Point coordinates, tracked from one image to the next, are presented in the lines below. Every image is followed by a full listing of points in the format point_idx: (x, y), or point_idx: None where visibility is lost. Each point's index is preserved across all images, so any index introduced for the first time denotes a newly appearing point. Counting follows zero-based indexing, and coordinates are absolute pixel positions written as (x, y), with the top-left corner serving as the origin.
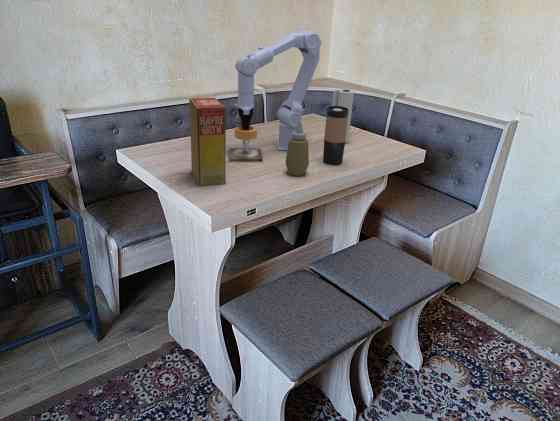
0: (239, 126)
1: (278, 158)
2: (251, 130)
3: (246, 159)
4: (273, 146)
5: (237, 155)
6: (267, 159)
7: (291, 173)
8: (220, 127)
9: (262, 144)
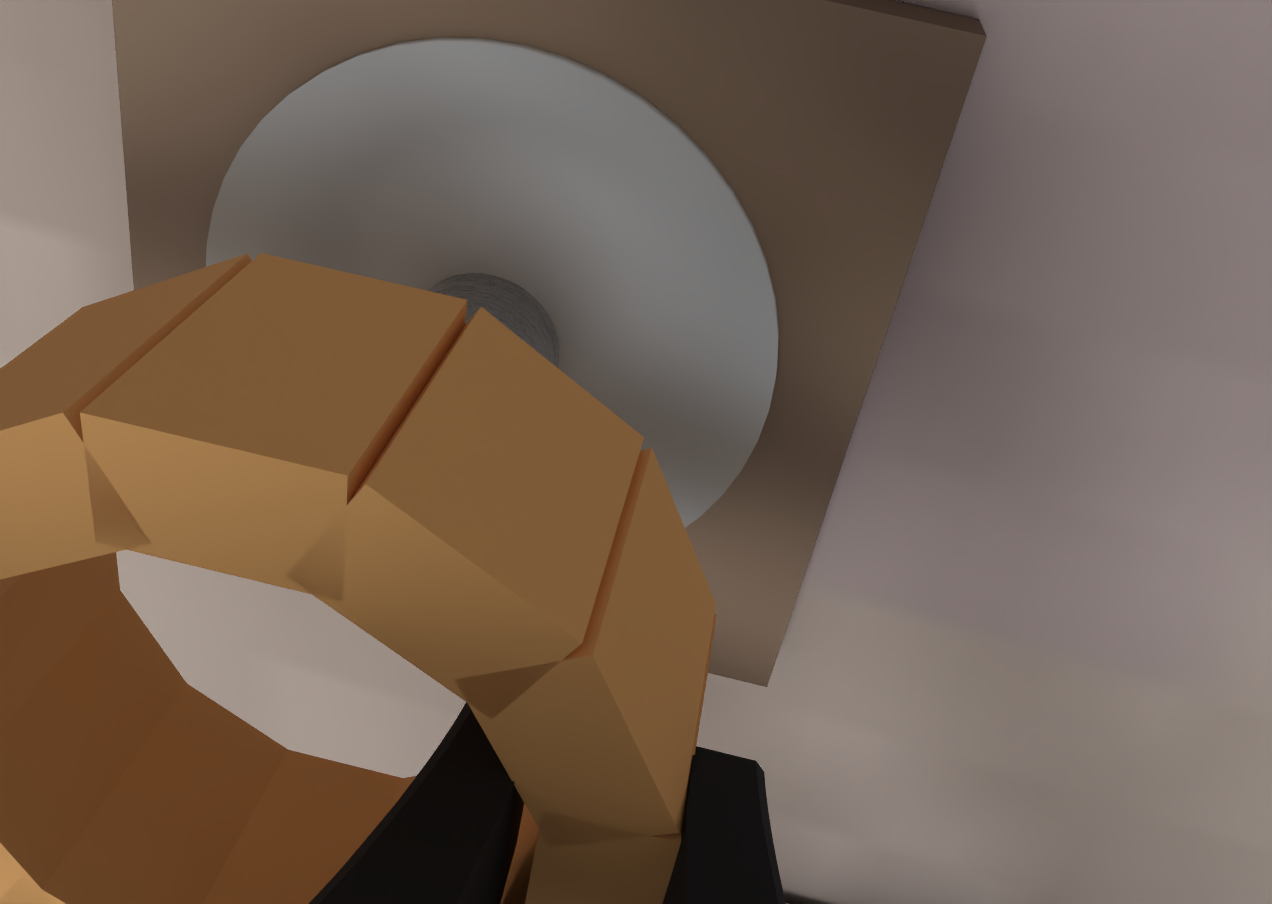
0: (516, 695)
1: (341, 756)
2: (5, 873)
3: (134, 251)
4: (943, 885)
5: (294, 106)
6: (295, 607)
7: None
8: None
9: (1129, 785)
